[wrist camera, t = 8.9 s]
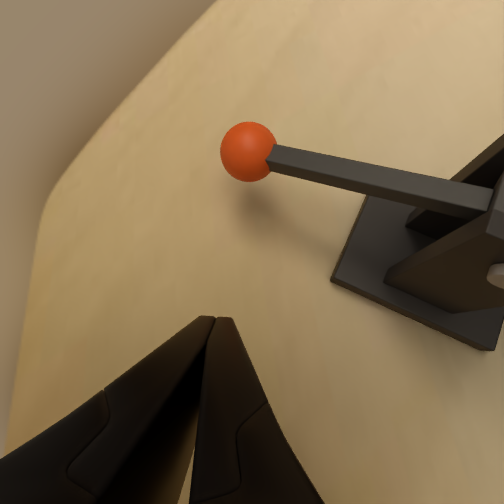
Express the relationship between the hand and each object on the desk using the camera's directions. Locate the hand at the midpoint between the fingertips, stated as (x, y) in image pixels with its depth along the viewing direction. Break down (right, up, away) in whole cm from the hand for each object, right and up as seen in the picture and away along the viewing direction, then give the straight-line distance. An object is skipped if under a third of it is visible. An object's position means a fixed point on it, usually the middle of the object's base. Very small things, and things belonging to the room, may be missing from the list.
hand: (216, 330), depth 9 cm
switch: (+7, +5, +9) cm, 12 cm away
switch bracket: (+12, +1, +13) cm, 18 cm away
